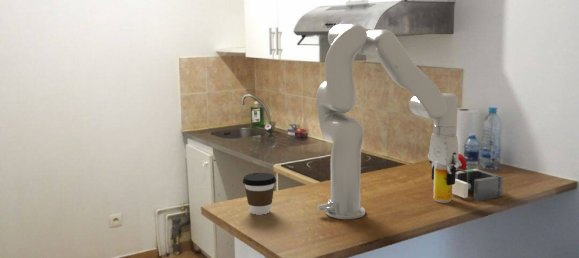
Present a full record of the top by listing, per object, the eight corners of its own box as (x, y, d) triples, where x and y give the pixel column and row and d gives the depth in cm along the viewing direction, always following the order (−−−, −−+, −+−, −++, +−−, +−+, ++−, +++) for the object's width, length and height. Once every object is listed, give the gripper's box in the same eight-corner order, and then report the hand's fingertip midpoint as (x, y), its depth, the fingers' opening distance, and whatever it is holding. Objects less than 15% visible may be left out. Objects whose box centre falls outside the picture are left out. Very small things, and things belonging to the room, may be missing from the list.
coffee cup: (239, 209, 185) (238, 174, 183) (270, 204, 189) (269, 170, 187) (249, 219, 175) (248, 182, 173) (281, 214, 179) (281, 178, 177)
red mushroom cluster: (465, 184, 209) (466, 158, 207) (446, 182, 211) (447, 157, 209) (466, 177, 217) (467, 152, 215) (447, 176, 219) (448, 151, 218)
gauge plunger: (464, 197, 189) (464, 176, 188) (445, 190, 198) (445, 169, 197) (476, 195, 192) (477, 174, 190) (457, 188, 200) (457, 167, 199)
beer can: (452, 203, 187) (454, 160, 184) (433, 202, 188) (435, 159, 185) (450, 198, 193) (452, 156, 190) (432, 197, 194) (434, 155, 191)
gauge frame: (477, 201, 189) (478, 180, 188) (453, 191, 200) (454, 171, 198) (501, 196, 194) (502, 175, 192) (476, 187, 204) (477, 168, 203)
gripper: (419, 127, 192) (418, 177, 195) (453, 136, 176) (451, 190, 180) (436, 125, 195) (435, 174, 198) (472, 133, 179) (469, 186, 183)
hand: (443, 181), depth 189 cm, fingers open, 6 cm apart
